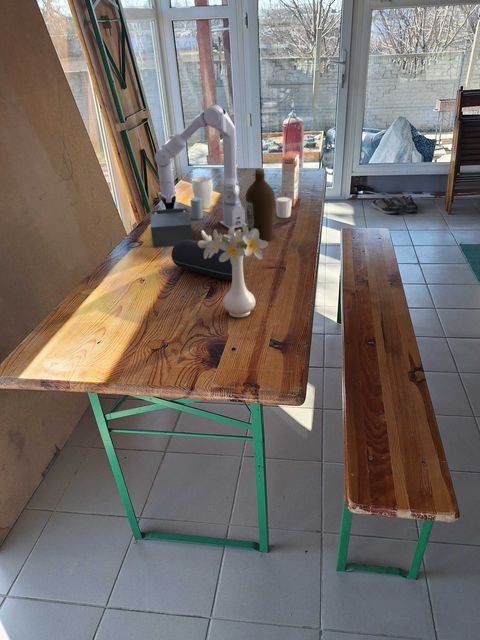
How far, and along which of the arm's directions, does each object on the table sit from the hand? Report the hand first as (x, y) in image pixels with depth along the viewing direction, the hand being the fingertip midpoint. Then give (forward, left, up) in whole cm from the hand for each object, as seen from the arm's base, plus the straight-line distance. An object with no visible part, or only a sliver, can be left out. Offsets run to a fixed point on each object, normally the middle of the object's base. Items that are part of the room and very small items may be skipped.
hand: (170, 215), depth 202 cm
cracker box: (-5, -56, -4) cm, 56 cm away
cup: (+12, -21, -4) cm, 24 cm away
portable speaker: (-53, +8, -4) cm, 53 cm away
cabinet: (-17, +6, -3) cm, 18 cm away
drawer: (-8, +3, -2) cm, 9 cm away
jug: (0, -12, -3) cm, 12 cm away
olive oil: (-34, -23, -4) cm, 41 cm away
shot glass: (-18, -44, -4) cm, 47 cm away
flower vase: (-81, +13, -4) cm, 82 cm away
